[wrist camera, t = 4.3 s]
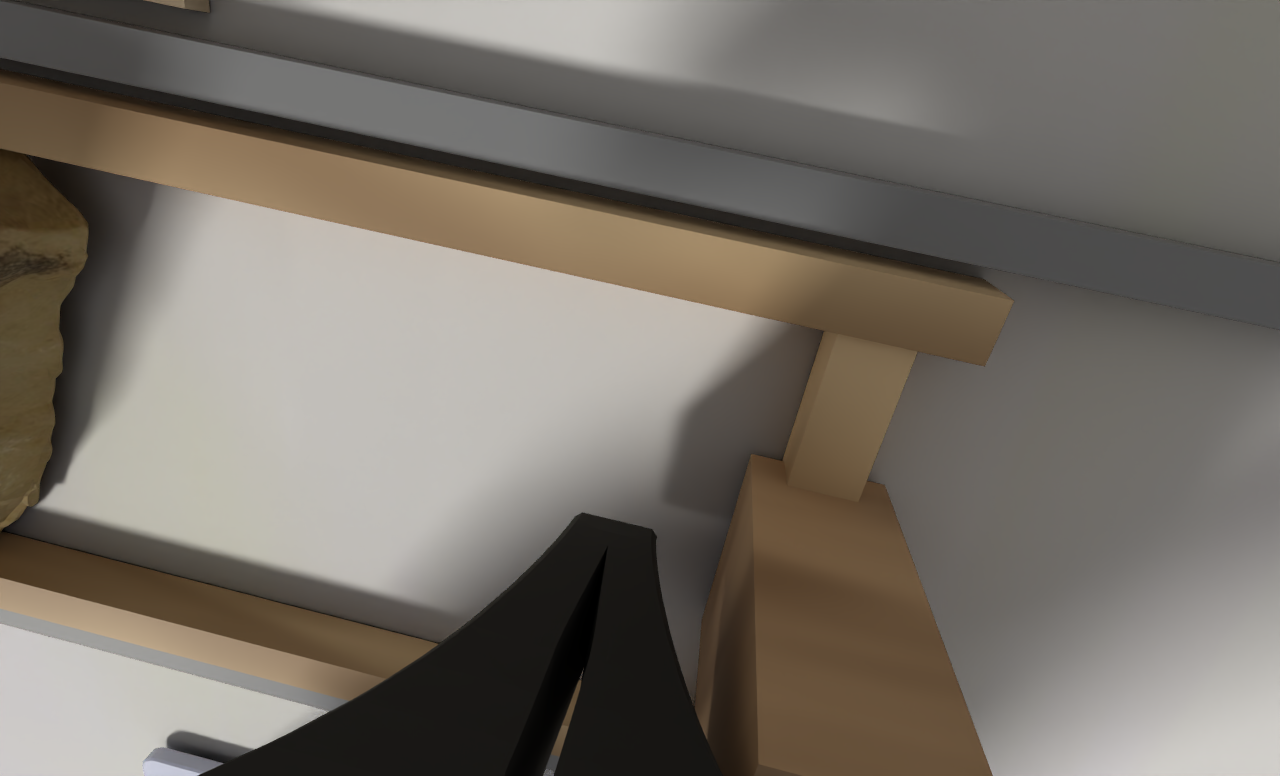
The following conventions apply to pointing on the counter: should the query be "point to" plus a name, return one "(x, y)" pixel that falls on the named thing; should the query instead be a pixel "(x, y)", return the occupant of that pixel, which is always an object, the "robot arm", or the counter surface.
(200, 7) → the maple strip
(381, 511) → the counter surface
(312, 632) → the oak sled
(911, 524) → the counter surface
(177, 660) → the rails
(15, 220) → the rock
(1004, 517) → the counter surface
